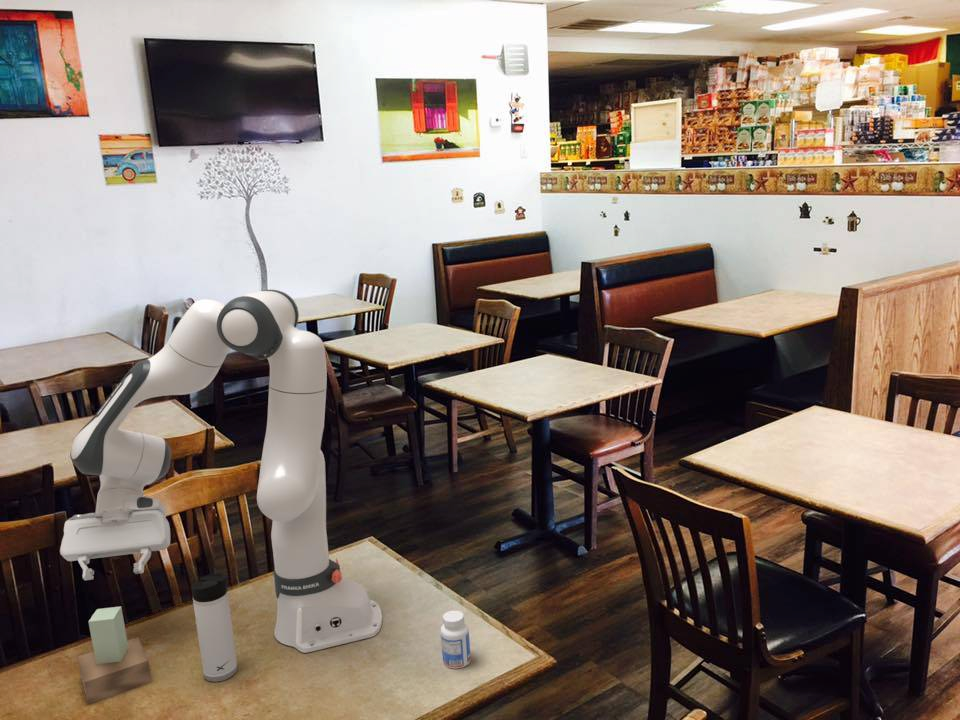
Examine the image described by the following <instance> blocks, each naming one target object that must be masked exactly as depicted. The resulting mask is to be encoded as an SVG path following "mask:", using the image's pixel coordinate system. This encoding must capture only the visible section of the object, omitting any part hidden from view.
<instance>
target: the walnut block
mask: <svg viewBox="0 0 960 720" xmlns="http://www.w3.org/2000/svg"><path fill="white" fill-rule="evenodd" d="M127 642H128V650H127V652H126V654H125V655H124V657H123V659H122V661H121V662H113V663H105V664H96V660H95V655H94V651H92V652H89V653H85V654H82V655H78V656H77V661H78V662H77V663H78V667H79V674H80V678H81V679H80V680H81V682H82V686H83V687H82V688H83V691H84V694H85V698H87V699H86V702H87V705H88V706H90V705H92V704H95V703H97V702H100V701H103V700H106V699H108V698H111V697H114V696H117V695H120V694H123V693H125V692H128V691H131V690H133V689H136V688H139V687H142V686H145V685H148V684H150V683H152V678H151V671H150V664H149V659H148V657H147V655H146V652H145V650H144V648H143V645H142V643H141V641H140V638H139V637H138V636H137V637H134V638H131V639H127ZM94 702H95V703H94Z"/></svg>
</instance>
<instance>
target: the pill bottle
mask: <svg viewBox="0 0 960 720" xmlns="http://www.w3.org/2000/svg"><path fill="white" fill-rule="evenodd" d="M440 639H441V640H440V641H441V652H442V654H441V655H442V662H443V664H444V666H446V667H447V668H449V669H454V670H455V669H461V668H465V667H467V666H468V665H469V663H470V662H471V645H470V644H471V643H470V631H469V625H468V624H467V622H465V615H464V613H463V612H462V611H460V610H457V609H456V610H449V611H446V612H445V613H444V614H443V615H442V625H441V627H440Z"/></svg>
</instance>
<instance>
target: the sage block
mask: <svg viewBox="0 0 960 720" xmlns="http://www.w3.org/2000/svg"><path fill="white" fill-rule="evenodd" d="M88 627H89V632H90V637H91V643H92V648H93V652H94V655H95V660H96V664H105V663H113V662H121V661H122V659H123V657H124V655H125V654H126V652H127V650H128V642H127V641H128V637H127V631H126V627H125V620H124V615H123V609H122V606H114V607H113V606H111V607H104V608H97V609H96V610H95V612H94V613H93V614H92V615H91V618H90V619H89V620H88Z"/></svg>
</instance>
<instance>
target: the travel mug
mask: <svg viewBox="0 0 960 720" xmlns="http://www.w3.org/2000/svg"><path fill="white" fill-rule="evenodd" d="M227 581H228V578H227V576H226V575H225V574H224V573H221V572H215V573H209V574H206V575H204V576H201V577H199V578H198V579H197V580H195V581H194V582H193V584H192V585H191V586H190V587H191V593H192V600H193V601H192V603H193V610H194V617H195V624H196V630H197V631H196V632H197V638H198V644H199V645H198V646H199V652H200V659H201V665H202V672H203V677H204V679H205V680H206V681H208V682H212V683H213V682H222V681H226V680H228V679H230V678H232V677H233V676H234V675H235V674H236V673H237V671H238V661H237V654H236V653H237V652H236V645H235V637H234V630H233V624H232V623H233V621H232V614H231V608H230V601H229V594H228V587H227Z"/></svg>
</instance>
